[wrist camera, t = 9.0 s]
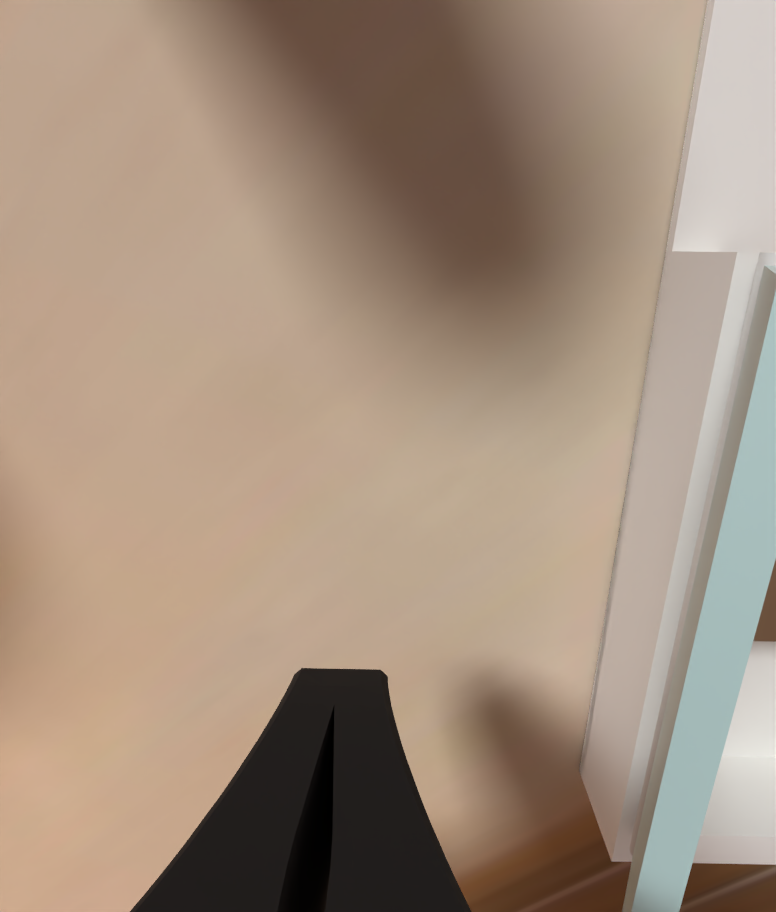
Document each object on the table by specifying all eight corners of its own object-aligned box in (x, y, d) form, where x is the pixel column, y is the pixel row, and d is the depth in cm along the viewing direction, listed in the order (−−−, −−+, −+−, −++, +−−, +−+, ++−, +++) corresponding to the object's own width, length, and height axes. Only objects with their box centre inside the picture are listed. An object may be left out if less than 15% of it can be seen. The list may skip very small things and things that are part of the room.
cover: (875, 251, 5) (769, 251, 5) (613, 1180, 9) (569, 1147, 10) (807, 253, 10) (759, 252, 10) (661, 849, 14) (632, 834, 15)
